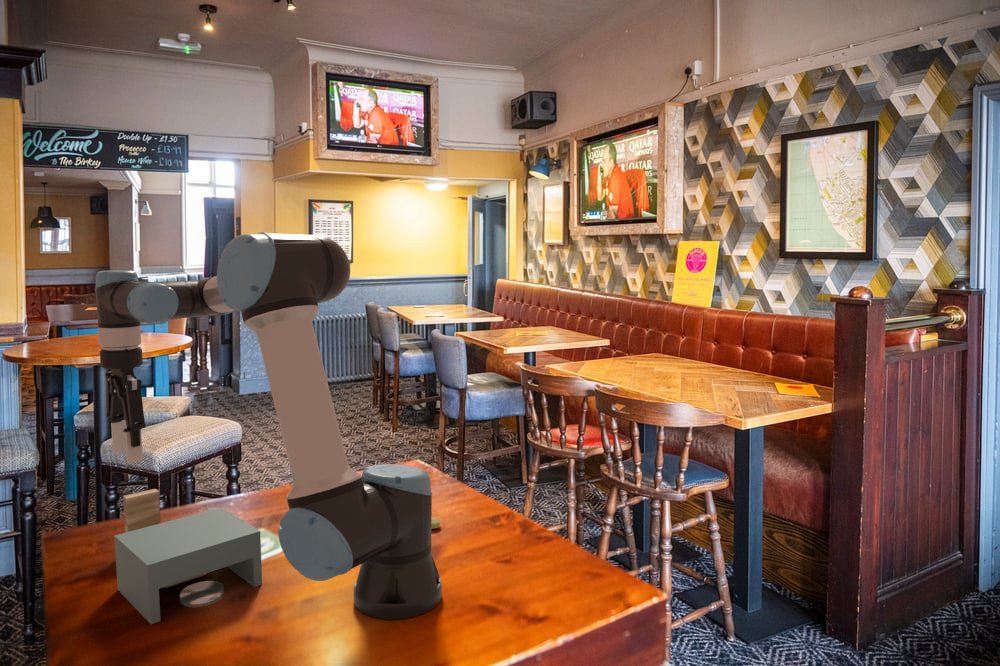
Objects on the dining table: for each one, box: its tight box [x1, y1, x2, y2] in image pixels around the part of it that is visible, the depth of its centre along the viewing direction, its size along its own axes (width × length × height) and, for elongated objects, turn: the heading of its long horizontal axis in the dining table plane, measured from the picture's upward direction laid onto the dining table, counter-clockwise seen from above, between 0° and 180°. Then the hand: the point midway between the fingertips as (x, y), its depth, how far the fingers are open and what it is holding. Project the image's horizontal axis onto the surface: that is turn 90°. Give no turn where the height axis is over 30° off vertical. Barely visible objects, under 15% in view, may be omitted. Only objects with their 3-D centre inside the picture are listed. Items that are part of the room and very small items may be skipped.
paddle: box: [122, 488, 207, 589], centre depth 132 cm, size 22×7×11 cm, turn 46°
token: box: [179, 580, 225, 608], centre depth 120 cm, size 7×7×2 cm
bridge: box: [113, 507, 263, 625], centre depth 123 cm, size 16×19×10 cm
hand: (127, 456), depth 143 cm, fingers open, 8 cm apart
